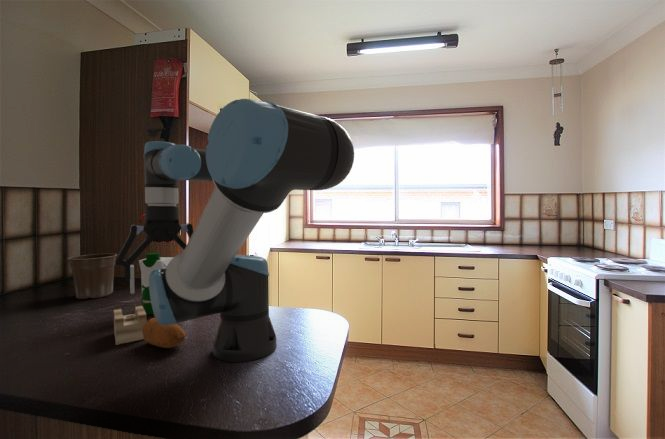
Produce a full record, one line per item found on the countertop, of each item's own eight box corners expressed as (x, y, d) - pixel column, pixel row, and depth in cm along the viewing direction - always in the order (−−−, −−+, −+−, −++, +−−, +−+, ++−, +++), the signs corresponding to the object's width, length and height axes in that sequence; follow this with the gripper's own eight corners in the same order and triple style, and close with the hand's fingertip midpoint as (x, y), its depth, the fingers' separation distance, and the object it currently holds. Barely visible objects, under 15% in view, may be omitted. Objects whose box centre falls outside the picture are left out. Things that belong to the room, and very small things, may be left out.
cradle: (147, 338, 88) (146, 314, 88) (115, 344, 84) (115, 319, 84) (143, 327, 97) (142, 305, 96) (114, 332, 93) (113, 310, 92)
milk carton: (137, 315, 108) (135, 254, 108) (154, 306, 117) (153, 250, 117) (162, 315, 107) (160, 254, 107) (178, 307, 116) (176, 250, 116)
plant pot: (58, 299, 128) (57, 258, 128) (98, 289, 144) (97, 252, 143) (89, 302, 124) (88, 259, 123) (127, 292, 139) (126, 253, 139)
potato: (166, 335, 90) (165, 309, 90) (191, 347, 83) (190, 319, 82) (138, 344, 85) (137, 316, 85) (161, 357, 77) (161, 327, 77)
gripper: (209, 205, 93) (210, 279, 94) (101, 204, 79) (104, 292, 80) (217, 205, 87) (217, 285, 88) (101, 205, 73) (103, 300, 74)
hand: (163, 288), depth 84 cm, fingers open, 13 cm apart
